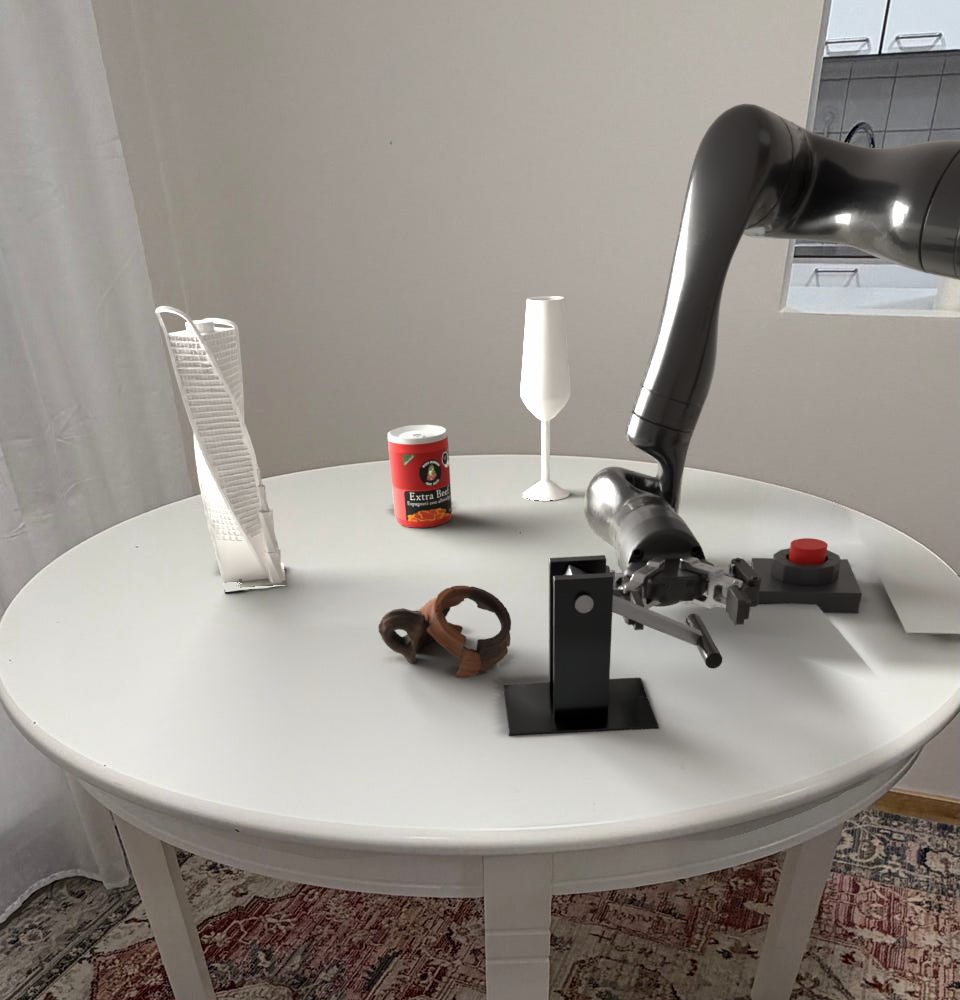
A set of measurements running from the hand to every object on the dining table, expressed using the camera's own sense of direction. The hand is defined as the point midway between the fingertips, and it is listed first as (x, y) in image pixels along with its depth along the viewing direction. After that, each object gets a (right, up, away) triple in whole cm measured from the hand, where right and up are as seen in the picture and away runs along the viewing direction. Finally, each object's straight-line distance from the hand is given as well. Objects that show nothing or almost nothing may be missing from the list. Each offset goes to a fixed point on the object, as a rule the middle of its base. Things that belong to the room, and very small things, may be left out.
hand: (690, 616), depth 80 cm
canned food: (-25, +25, +47) cm, 59 cm away
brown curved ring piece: (-21, -2, +9) cm, 23 cm away
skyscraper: (-45, +12, +31) cm, 56 cm away
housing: (+16, +7, +20) cm, 26 cm away
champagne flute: (-9, +31, +54) cm, 63 cm away
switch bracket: (-10, -8, 0) cm, 13 cm away
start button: (+16, +10, +17) cm, 26 cm away
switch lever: (-6, -2, -5) cm, 8 cm away
